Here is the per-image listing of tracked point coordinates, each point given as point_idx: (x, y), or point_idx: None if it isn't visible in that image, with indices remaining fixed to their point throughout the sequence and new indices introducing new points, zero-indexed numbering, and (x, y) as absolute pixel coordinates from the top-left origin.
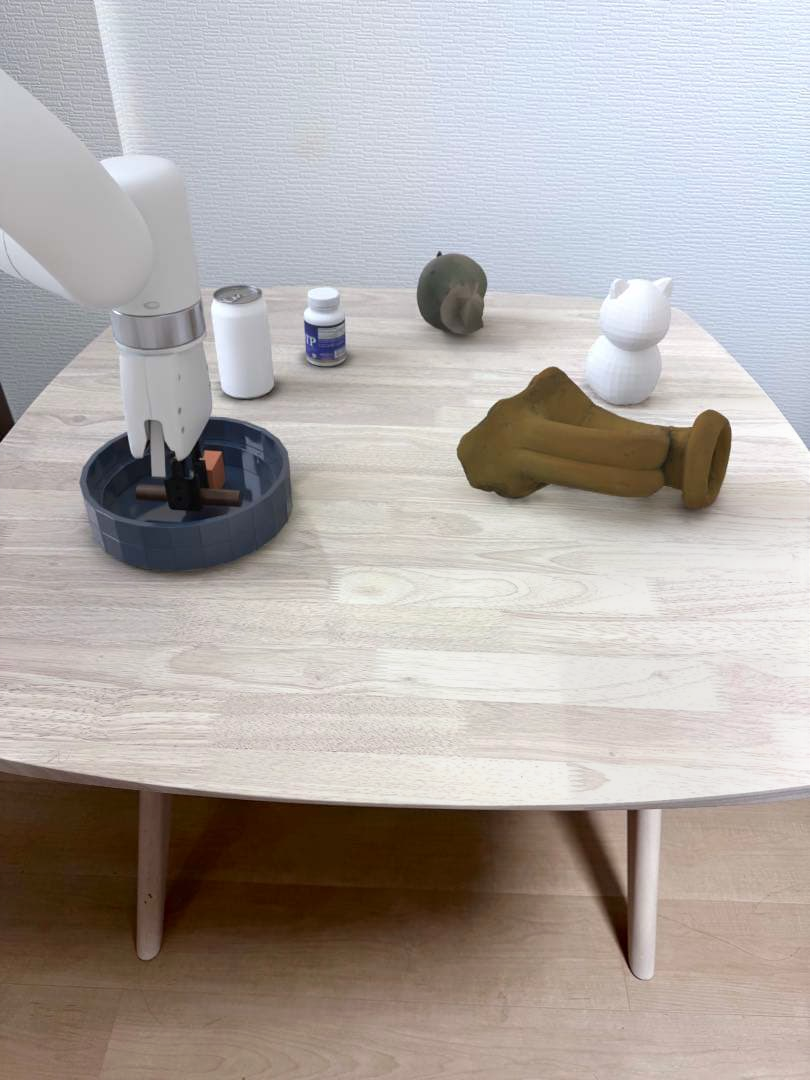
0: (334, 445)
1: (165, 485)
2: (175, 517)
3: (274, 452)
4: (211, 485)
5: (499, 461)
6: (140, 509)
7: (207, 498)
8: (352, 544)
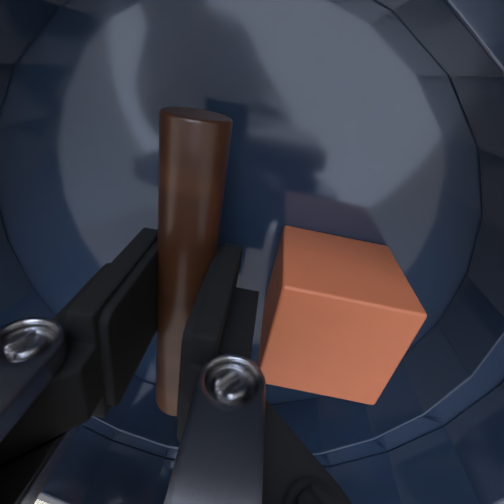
0: None
1: (101, 277)
2: None
3: None
4: (261, 331)
5: None
6: (219, 96)
7: (156, 342)
8: None
